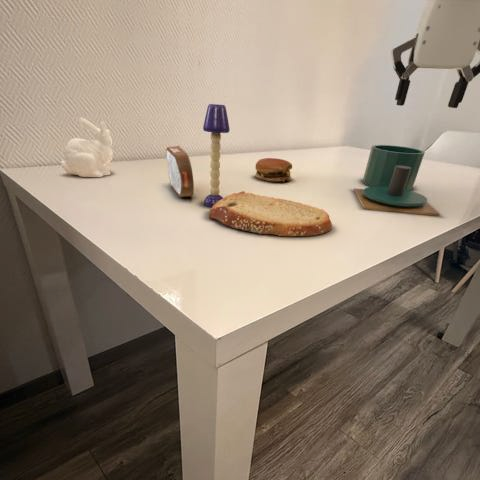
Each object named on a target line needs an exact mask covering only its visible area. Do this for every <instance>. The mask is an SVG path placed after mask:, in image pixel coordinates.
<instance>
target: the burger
mask: <svg viewBox="0 0 480 480" xmlns="http://www.w3.org/2000/svg"><path fill="white" fill-rule="evenodd" d="M292 169H293V164H292V162H290V161H288V160H285V159H282V158H275V157H274V158H272V157H267V158H261V159H259V160H257V162H256V163H255V170H256V173H255V177H256V179H258V180H262V181H266V182H283V183H284V182H285V181H287V182H290V181H291V180H292V178H291V170H292Z"/></svg>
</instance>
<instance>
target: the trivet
mask: <svg viewBox="0 0 480 480" xmlns="http://www.w3.org/2000/svg"><path fill="white" fill-rule="evenodd" d="M364 189H365V188H356V187H355V188H354V189H353V192H354V193H355V195H356V197H357V199H358V201H359V203H360V205H361V207H362V208H363V209H364V210H368V211H369V210H370V211H381V212H391V213H399V214H401V213H402V214H412V215H422V216H431V217H439V216H440V213H439V212H438V211H437V210H436V209H435V208H434V207H433V206H431V204H429V203H428V202H427V203H426V204H425V205H422V206H410V207H400V206H392V205H387V204H383V203H379V202H377V201H374V200H372V199H369V198H367V197H366V196H364V195H363V190H364Z"/></svg>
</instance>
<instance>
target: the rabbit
mask: <svg viewBox="0 0 480 480" xmlns="http://www.w3.org/2000/svg"><path fill="white" fill-rule="evenodd" d="M99 124H100V125H99V126H100V128H99V127H97V126H96V125H95V124H94V123H93V122H91V121H89V120H87V119H85V118H84V117H82V116H81V117H79V119H78V127H80V128H81V129H83V130H86V131H89V132H91V133H92V134H94V135H95V136H94V138H93V139H90V140H88V139H84V138H82V137H81V138H80V137H74V138H71V139H70V140H68V141H67V143H66V144H65V147H64V150H63V155H64V160H61V161H60V166H61V168H62V169H63V170H64V171H65V172H67V173H68V174H71V175H75V176H79V177H81V178H102V177H103V176H110V175H111V172H110V170H109V169H108V168H106V167H105V166H107V165H109V164H110V163H111V162H112V160H113V156H114V152H113V148H112V146H113V143H114V141H113V138H112V136H111V134H112V133H111V130H109V129H107V128H108V126H107V125H108V124H107V122H106V121H100V123H99Z"/></svg>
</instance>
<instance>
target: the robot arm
mask: <svg viewBox="0 0 480 480" xmlns="http://www.w3.org/2000/svg"><path fill="white" fill-rule="evenodd" d="M420 15H421V16H420V19H419V21H418V24H417V28H416V30H415V34H414V36H413V37H412V38H411V39H409V40H407V41H405V42H403V43H401V44H400V45H399V44H398V45H397V46H396V47H394V48H392V50H391V51H390V55H391V61H392V67H393V68H392V69H393V70H394V72H395V74H396V75H397V78H398V80H399V82H398V85H397V89H396V92H395V97H394V101H396V104H395V105H396V106H401V107H402V106H404V105H405V103H406V100H407V96H408V92H409V89H410V85H411V80H410V76H412V74H413V73H415V71H416V70H418V69H435V70H436V69H438V70H441V69H442V70H454V69H455V70H456V71H455V72H456V73H457V76H458V81H456V82H455V83H454V86H453V89H452V92H451V95H450V98H449V100H448V104H447V107H448V108H451V109H457V108H458V107H459V104H461V103H462V102H463V99H464V97H465V94H466V91H467V88H468V85H469V83H470V82H472V81H473V79H475V77H476V76H478V75H479V74H480V60H478V62H476V64H475V65H474V66H472V67H471V64H472V62H473V60H474V59H475V56H476V53H477V54H479V55H480V0H426V2H425V4H424V7H423V10H422V12H421V14H420ZM408 50H409V53H408V58H407V65H406V66H405V65H404V63H403V61H402V54H403V53H405V52H406V51H408Z"/></svg>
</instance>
